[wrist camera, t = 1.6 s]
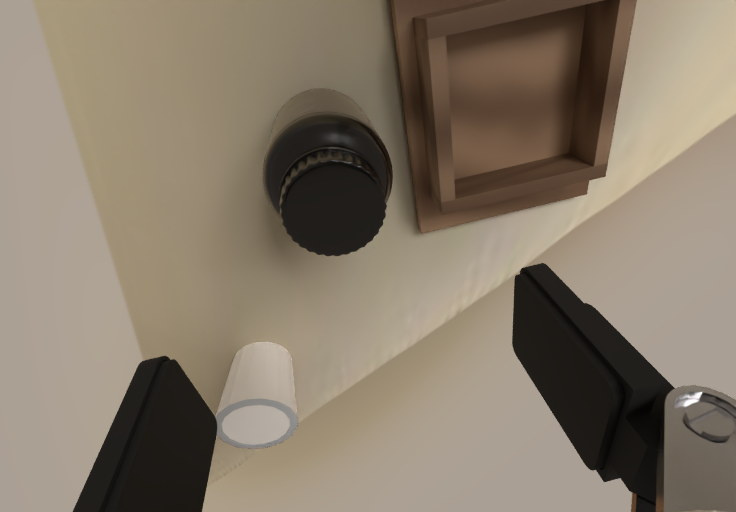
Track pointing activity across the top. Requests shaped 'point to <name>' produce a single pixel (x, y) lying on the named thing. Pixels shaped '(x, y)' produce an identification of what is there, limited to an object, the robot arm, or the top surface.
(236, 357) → the shot glass
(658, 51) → the top surface
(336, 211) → the supplement bottle
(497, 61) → the bottle cradle
